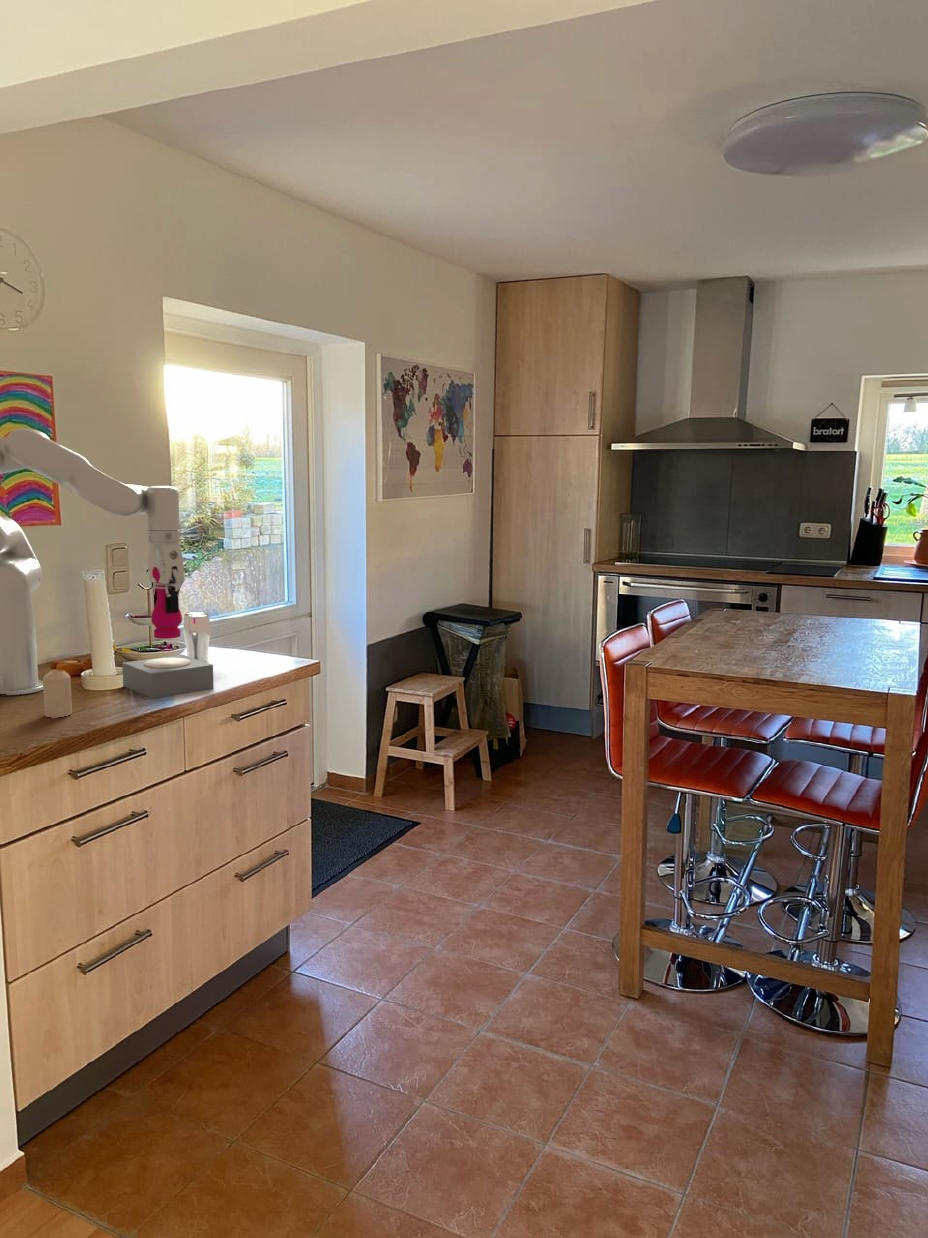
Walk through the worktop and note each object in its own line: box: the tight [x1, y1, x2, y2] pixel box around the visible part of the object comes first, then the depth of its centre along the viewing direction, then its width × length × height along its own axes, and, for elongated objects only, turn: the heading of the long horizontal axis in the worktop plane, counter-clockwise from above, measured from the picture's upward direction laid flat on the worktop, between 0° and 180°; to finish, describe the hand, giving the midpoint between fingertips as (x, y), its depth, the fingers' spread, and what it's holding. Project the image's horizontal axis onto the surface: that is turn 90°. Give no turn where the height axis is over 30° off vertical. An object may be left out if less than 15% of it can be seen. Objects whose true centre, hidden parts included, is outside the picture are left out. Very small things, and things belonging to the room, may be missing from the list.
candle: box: [42, 668, 73, 719], centre depth 196 cm, size 6×6×10 cm
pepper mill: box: [151, 567, 183, 640], centre depth 221 cm, size 7×7×20 cm
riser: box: [121, 654, 215, 699], centre depth 224 cm, size 16×16×6 cm
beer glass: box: [182, 612, 211, 663], centre depth 245 cm, size 7×7×15 cm
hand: (166, 610), depth 221 cm, fingers closed on pepper mill, 5 cm apart
